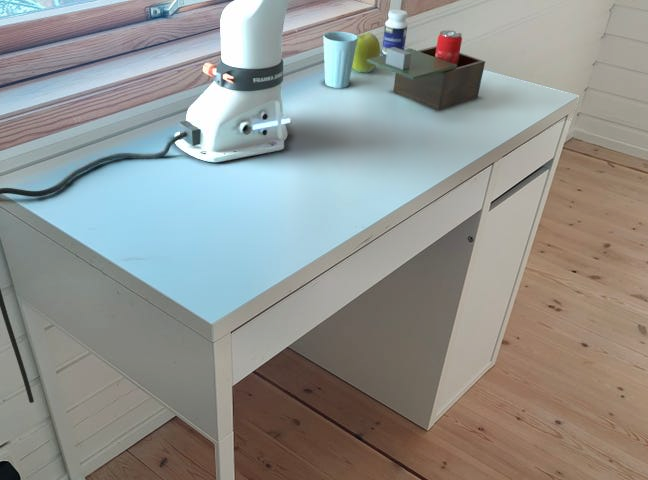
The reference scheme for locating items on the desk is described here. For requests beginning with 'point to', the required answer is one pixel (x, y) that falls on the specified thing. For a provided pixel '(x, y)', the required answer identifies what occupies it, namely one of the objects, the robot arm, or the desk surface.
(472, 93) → the wooden box
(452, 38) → the beverage can
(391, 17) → the pill bottle
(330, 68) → the cup
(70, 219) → the desk surface
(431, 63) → the slide lid
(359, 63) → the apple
